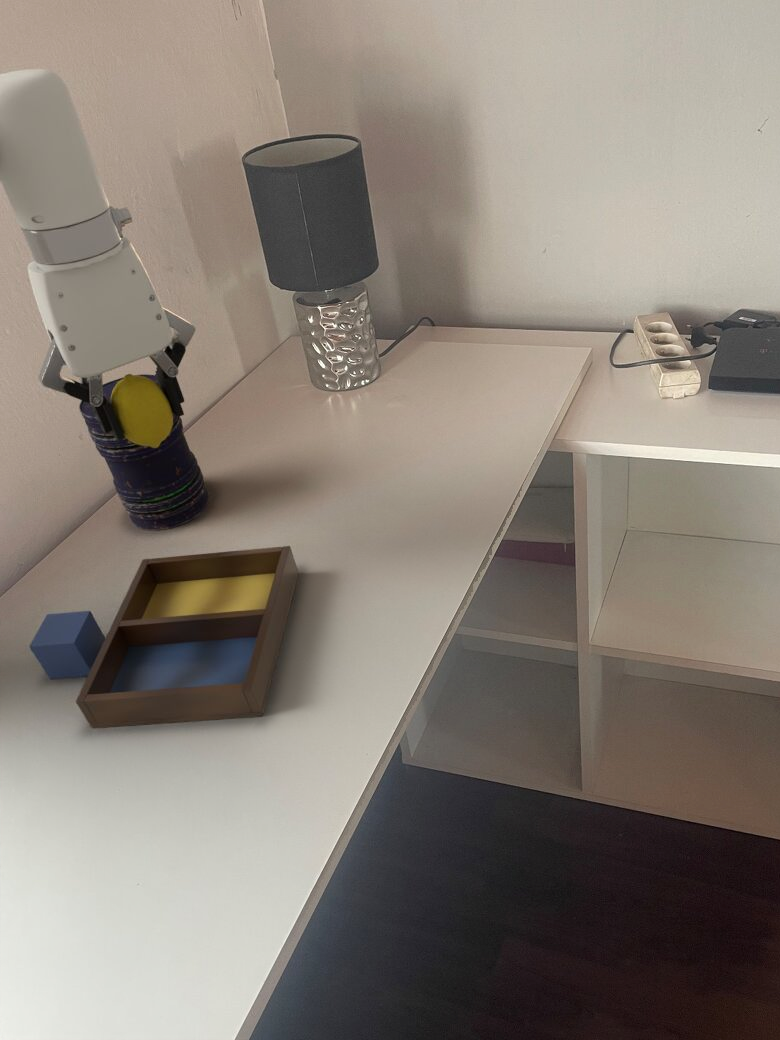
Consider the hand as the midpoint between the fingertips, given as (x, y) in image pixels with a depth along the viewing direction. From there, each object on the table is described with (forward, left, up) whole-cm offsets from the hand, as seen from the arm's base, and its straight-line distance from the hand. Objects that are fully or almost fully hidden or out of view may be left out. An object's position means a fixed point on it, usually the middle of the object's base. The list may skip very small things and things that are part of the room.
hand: (146, 421), depth 86 cm
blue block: (-8, -17, -16) cm, 25 cm away
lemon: (0, 0, -3) cm, 3 cm away
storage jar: (-6, +9, -17) cm, 20 cm away
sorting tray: (+4, -16, -16) cm, 23 cm away
